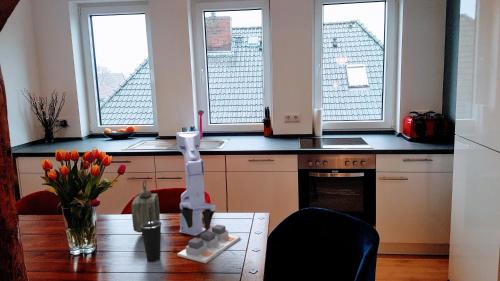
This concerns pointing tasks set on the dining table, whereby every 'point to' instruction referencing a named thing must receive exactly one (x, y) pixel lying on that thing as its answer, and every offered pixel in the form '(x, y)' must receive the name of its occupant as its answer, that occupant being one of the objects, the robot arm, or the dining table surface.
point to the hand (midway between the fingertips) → (198, 228)
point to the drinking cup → (152, 238)
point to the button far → (218, 229)
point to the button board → (209, 247)
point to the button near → (195, 243)
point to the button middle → (208, 235)
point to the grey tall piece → (144, 208)
